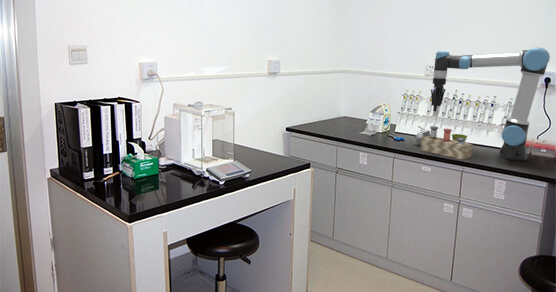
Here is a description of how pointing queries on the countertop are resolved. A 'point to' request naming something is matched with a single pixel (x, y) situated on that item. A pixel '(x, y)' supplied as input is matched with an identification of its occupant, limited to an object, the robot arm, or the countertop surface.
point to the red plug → (447, 135)
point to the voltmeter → (419, 136)
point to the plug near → (460, 141)
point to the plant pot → (458, 136)
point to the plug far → (433, 132)
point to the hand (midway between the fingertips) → (435, 116)
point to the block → (446, 147)
